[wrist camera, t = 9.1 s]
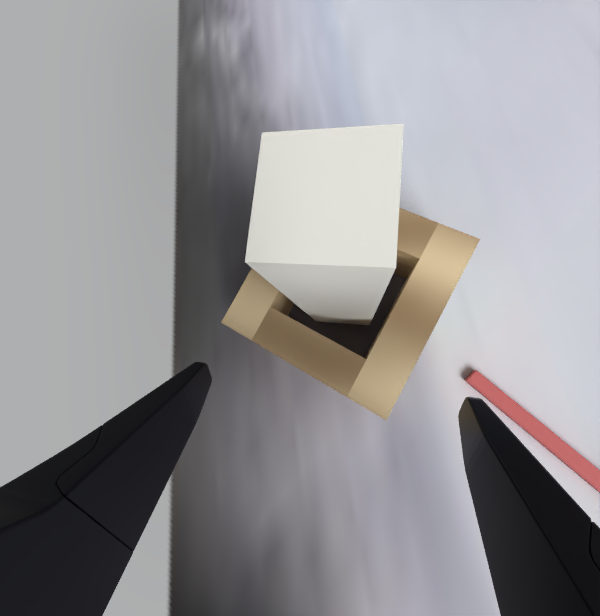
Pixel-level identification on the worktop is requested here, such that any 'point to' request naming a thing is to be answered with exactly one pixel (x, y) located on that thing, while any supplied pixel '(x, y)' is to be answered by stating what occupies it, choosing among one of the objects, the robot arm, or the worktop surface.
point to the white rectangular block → (328, 218)
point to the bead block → (393, 333)
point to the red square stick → (536, 429)
